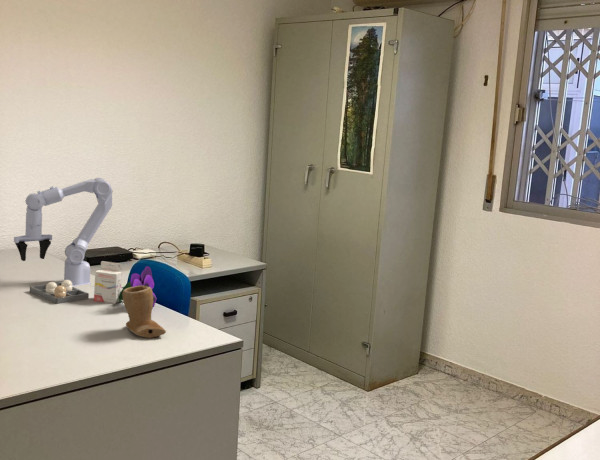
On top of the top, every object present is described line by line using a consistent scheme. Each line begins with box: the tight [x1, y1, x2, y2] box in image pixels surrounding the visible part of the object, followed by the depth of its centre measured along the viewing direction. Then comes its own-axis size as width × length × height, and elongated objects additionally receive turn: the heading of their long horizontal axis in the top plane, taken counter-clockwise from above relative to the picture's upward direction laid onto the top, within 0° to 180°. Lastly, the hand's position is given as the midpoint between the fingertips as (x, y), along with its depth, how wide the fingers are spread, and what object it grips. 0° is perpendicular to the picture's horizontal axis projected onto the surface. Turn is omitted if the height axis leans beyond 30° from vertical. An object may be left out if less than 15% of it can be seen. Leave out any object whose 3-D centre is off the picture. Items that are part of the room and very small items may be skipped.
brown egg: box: [54, 286, 66, 298], centre depth 236 cm, size 4×4×6 cm
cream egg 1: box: [46, 281, 57, 294], centre depth 240 cm, size 4×4×6 cm
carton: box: [29, 281, 90, 305], centre depth 243 cm, size 13×19×2 cm
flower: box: [118, 266, 157, 308], centre depth 239 cm, size 15×15×14 cm
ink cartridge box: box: [93, 260, 123, 306], centre depth 241 cm, size 9×5×15 cm, turn 82°
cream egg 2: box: [61, 279, 73, 291], centre depth 245 cm, size 4×4×6 cm
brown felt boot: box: [122, 286, 167, 339], centre depth 211 cm, size 15×12×15 cm
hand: (32, 259), depth 252 cm, fingers open, 7 cm apart
